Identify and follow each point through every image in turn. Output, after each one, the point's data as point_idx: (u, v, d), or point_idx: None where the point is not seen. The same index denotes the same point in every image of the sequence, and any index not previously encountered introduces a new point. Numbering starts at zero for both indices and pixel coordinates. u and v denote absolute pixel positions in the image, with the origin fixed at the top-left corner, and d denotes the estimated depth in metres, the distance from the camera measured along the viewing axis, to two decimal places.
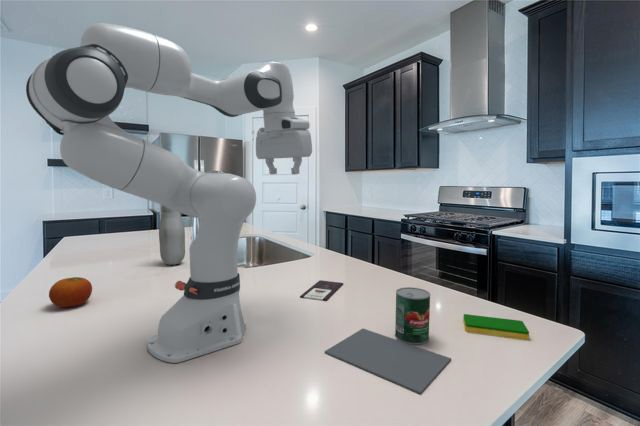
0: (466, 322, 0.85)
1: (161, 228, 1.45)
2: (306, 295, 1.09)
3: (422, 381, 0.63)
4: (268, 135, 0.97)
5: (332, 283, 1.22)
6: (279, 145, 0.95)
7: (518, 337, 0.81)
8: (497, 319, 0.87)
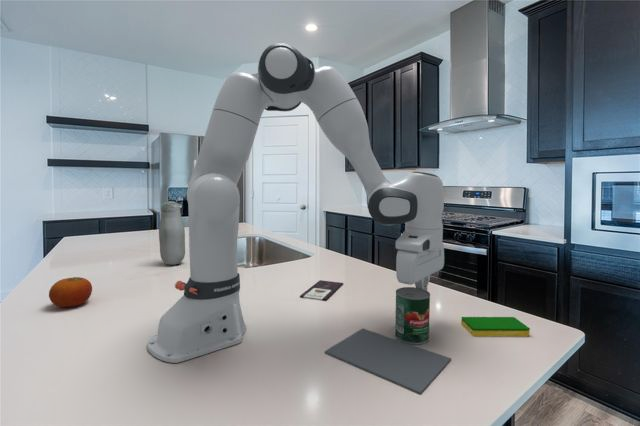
0: (472, 326, 0.83)
1: (161, 228, 1.45)
2: (306, 295, 1.09)
3: (422, 381, 0.63)
4: None
5: (332, 283, 1.22)
6: None
7: (521, 335, 0.82)
8: (494, 318, 0.88)
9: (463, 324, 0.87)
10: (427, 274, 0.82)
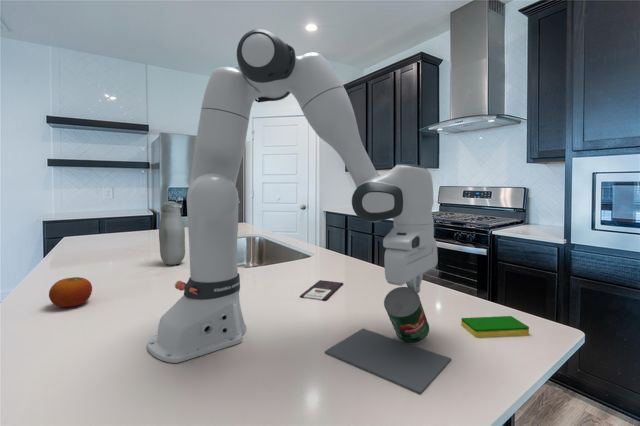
0: (474, 327, 0.82)
1: (161, 228, 1.45)
2: (306, 295, 1.09)
3: (422, 381, 0.63)
4: None
5: (332, 283, 1.22)
6: None
7: (521, 334, 0.82)
8: (493, 318, 0.88)
9: (464, 325, 0.87)
10: (419, 273, 0.77)
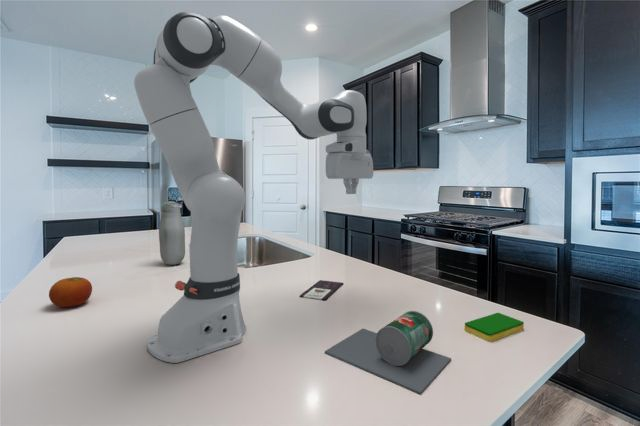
0: (486, 331, 0.80)
1: (161, 228, 1.45)
2: (305, 295, 1.10)
3: (422, 381, 0.63)
4: None
5: (332, 283, 1.22)
6: None
7: (519, 329, 0.85)
8: (489, 318, 0.88)
9: (469, 330, 0.84)
10: (354, 176, 1.01)
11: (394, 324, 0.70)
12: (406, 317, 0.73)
